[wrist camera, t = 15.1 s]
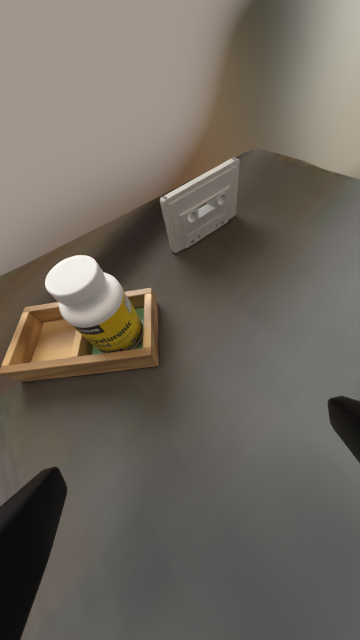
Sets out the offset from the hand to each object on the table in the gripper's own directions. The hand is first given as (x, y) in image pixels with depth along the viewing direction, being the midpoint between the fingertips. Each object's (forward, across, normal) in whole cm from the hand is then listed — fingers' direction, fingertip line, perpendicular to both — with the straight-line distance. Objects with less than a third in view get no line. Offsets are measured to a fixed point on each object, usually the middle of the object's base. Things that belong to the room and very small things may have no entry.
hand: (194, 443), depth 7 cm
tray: (+18, +10, 0) cm, 21 cm away
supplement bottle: (+17, +6, 0) cm, 18 cm away
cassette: (+28, -7, -10) cm, 31 cm away
